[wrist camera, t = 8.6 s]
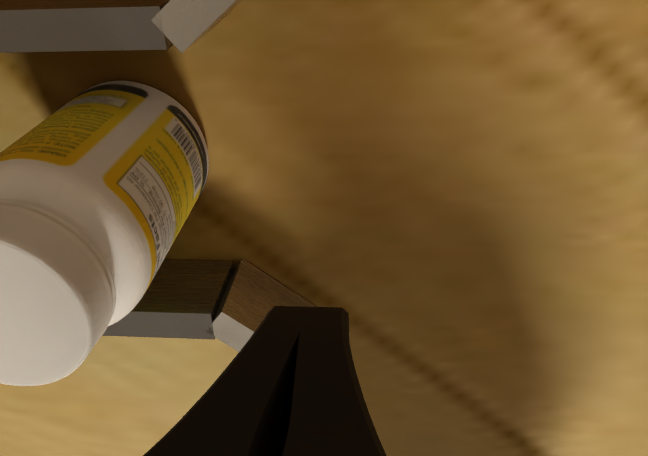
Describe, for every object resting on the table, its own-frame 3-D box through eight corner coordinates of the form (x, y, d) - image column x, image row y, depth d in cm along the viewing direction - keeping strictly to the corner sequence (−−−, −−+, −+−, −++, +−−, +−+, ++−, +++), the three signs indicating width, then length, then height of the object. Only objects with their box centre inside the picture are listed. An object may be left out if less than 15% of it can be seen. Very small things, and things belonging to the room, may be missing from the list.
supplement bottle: (44, 164, 20) (-148, 330, 13) (99, 45, 18) (-99, 165, 11) (173, 239, 21) (60, 431, 14) (239, 135, 19) (145, 299, 12)
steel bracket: (317, 324, 22) (307, 382, 20) (25, 315, 24) (-21, 369, 21) (294, -88, 16) (274, -80, 13) (-113, -71, 17) (-204, -61, 14)
